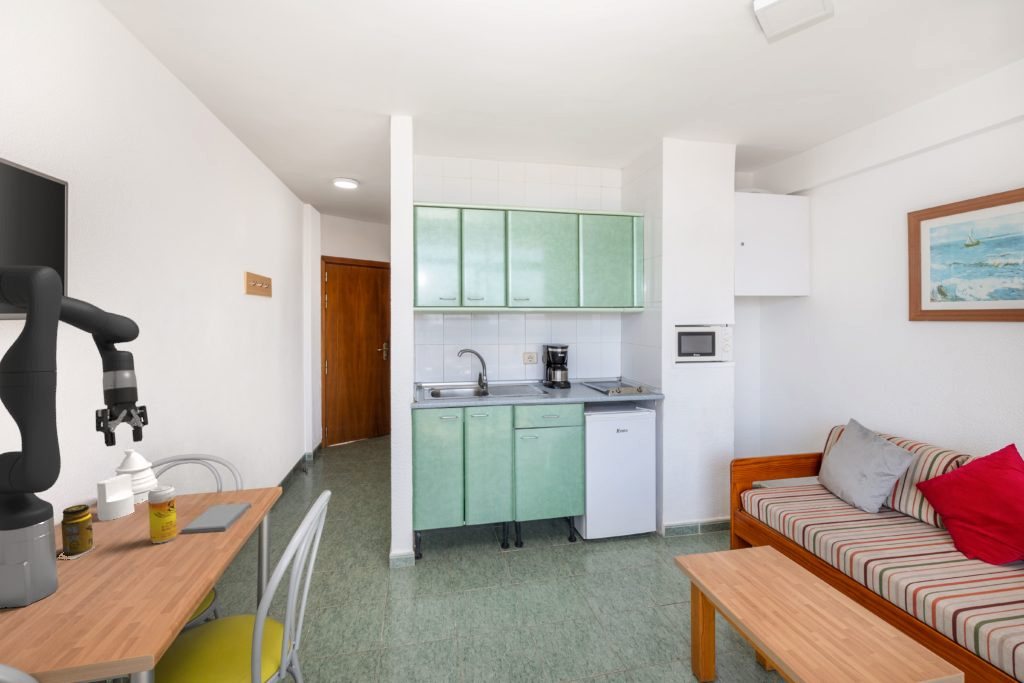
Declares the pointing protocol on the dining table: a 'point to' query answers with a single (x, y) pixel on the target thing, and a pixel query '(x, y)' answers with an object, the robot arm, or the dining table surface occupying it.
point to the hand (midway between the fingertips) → (124, 443)
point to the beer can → (162, 513)
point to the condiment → (76, 531)
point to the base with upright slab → (115, 497)
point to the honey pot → (138, 475)
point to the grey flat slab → (216, 518)
